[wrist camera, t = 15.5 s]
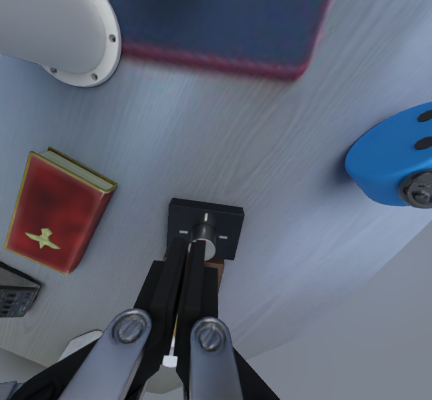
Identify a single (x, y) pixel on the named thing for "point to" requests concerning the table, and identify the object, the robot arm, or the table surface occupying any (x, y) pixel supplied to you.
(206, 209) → the control panel
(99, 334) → the photo printer
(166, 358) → the supplement bottle
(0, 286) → the electronic device
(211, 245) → the timer knob
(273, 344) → the table surface
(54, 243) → the hardcover book
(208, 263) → the button block
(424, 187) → the alarm clock
